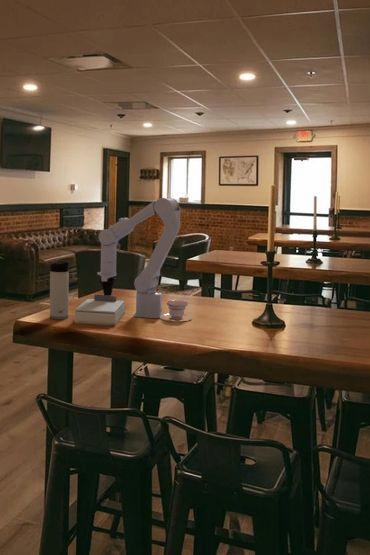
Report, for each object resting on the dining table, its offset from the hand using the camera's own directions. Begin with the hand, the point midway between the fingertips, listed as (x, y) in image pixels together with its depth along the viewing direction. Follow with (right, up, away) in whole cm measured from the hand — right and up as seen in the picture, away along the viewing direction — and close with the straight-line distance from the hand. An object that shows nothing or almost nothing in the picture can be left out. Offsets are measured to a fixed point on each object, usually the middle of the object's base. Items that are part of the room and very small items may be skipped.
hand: (107, 297), depth 200 cm
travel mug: (-15, -7, -13) cm, 21 cm away
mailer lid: (-1, -3, -11) cm, 12 cm away
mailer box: (-1, -7, -11) cm, 13 cm away
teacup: (+26, -8, -5) cm, 28 cm away
